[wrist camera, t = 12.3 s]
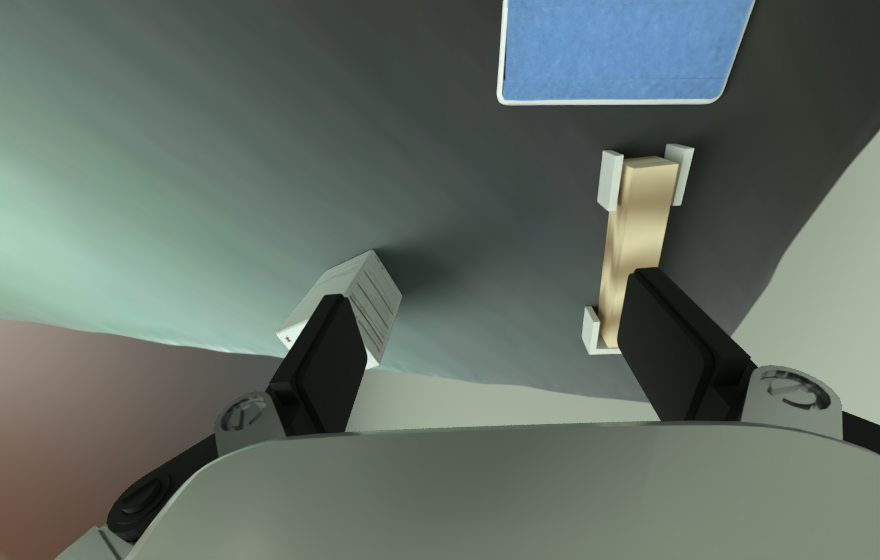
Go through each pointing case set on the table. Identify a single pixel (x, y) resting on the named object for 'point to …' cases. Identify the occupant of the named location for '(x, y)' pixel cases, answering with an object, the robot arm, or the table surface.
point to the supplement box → (353, 302)
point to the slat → (634, 233)
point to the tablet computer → (618, 51)
